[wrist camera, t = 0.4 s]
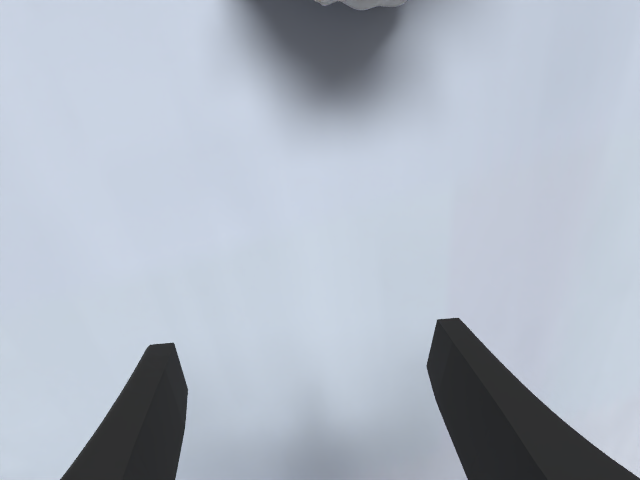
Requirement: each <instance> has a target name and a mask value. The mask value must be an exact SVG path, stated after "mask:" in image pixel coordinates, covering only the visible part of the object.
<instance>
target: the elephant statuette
mask: <svg viewBox="0 0 640 480" xmlns="http://www.w3.org/2000/svg"><path fill="white" fill-rule="evenodd" d="M314 1H315V2H319V3H320V4H321V5H323V6H327V5H330V4H332V3H334V2H337V1H340V2H342V3H344V4H346V5H347V6H349V7H351V8H353V9H356V10H367V9H370V8H373V7H377V6H382V7H397V6H400V5H402V4H404V3H405V2H407V1H408V0H314Z"/></svg>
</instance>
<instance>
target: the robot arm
mask: <svg viewBox="0 0 640 480" xmlns="http://www.w3.org/2000/svg"><path fill="white" fill-rule="evenodd" d="M427 370H428V374H429V378H430V381H431V385H432V389H433V392H434V396H435V399H436V402H437V405H438V407H439V410H440V412H441V415H442V417H443V420H444V422H445V425H446V427H447V430H448V432H449V434H450V437H451V439H452V442H453V444H454V447H455V449H456V452H457V454H458V456H459V459H460V461H461V464H462V466H463V469H464V471H465V474H466V476H467V478H468V480H640V478H638V477H637V476H636V475H634V474H633V473H631V472H630V471H628V470H627V469H626V468H624V467H623V466H621V465H620V464H618V463H617V462H616V461H614V460H613V459H611V458H610V457H609V456H607V455H606V454H605V453H603V452H602V451H601V450H599V449H598V448H597V447H595V446H594V445H593V444H591V443H590V442H589V441H588V440H586V439H585V438H584V437H583V436H581V435H580V434H579V433H578V432H576V431H575V430H574V429H573V428H571V427H570V426H569V425H568V424H567V423H565V422H564V421H563V420H562V419H561V418H560V417H558V416H557V415H556V414H555V413H554V412H553V411H551V410H550V409H549V408H548V407H547V406H546V405H545V404H544V403H543V402H541V401H540V400H539V399H538V398H537V397H536V396H535V395H534V394H533V393H532V392H531V391H530V390H528V389H527V388H526V387H525V386H524V385H523V384H522V383H521V382H520V381H519V380H518V379H517V378H516V377H515V376H514V375H513V374H512V373H511V372H510V371H509V370H508V369H507V368H506V367H505V366H504V365H503V364H502V363H501V362H500V361H499V360H498V359H497V358H496V357H495V356H494V355H493V354H492V353H491V352H490V351H489V350H488V349H487V347H486V346H485V345H484V344H483V343H482V342H481V341H480V340H479V339H478V338H477V337H476V336H475V335H474V334H473V333H472V331H471V330H470V329H469V328H468V327H467V326H466V325H465V324H464V323H463V322H462V321H461V320H460V319H459V318H450V319H439V320H437V323H436V327H435V332H434V336H433V340H432V345H431V349H430V353H429V358H428V362H427ZM187 395H188V388H187V385H186V381H185V378H184V375H183V371H182V368H181V365H180V361H179V358H178V355H177V351H176V348H175V345H174V343H165V344H154V345H150V346H149V347H148V348H147V349H146V351H145V352H144V354H143V356H142V358H141V360H140V361H139V363H138V365H137V367H136V368H135V370H134V372H133V374H132V375H131V377H130V379H129V380H128V382H127V384H126V385H125V387H124V389H123V390H122V392H121V393H120V395H119V397H118V398H117V400H116V401H115V403H114V404H113V406H112V407H111V409H110V411H109V412H108V414H107V415H106V417H105V418H104V420H103V421H102V423H101V424H100V426H99V427H98V429H97V430H96V432H95V433H94V434H93V436H92V437H91V439H90V440H89V441H88V443H87V444H86V446H85V447H84V448H83V450H82V451H81V453H80V454H79V455H78V457H77V458H76V460H75V461H74V462H73V464H72V465H71V466H70V468H69V469H68V470H67V472H66V473H65V474H64V475H63V477H62V478H61V479H60V480H175V477H176V472H177V467H178V462H179V457H180V451H181V446H182V441H183V435H184V430H185V421H186V409H187Z"/></svg>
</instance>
